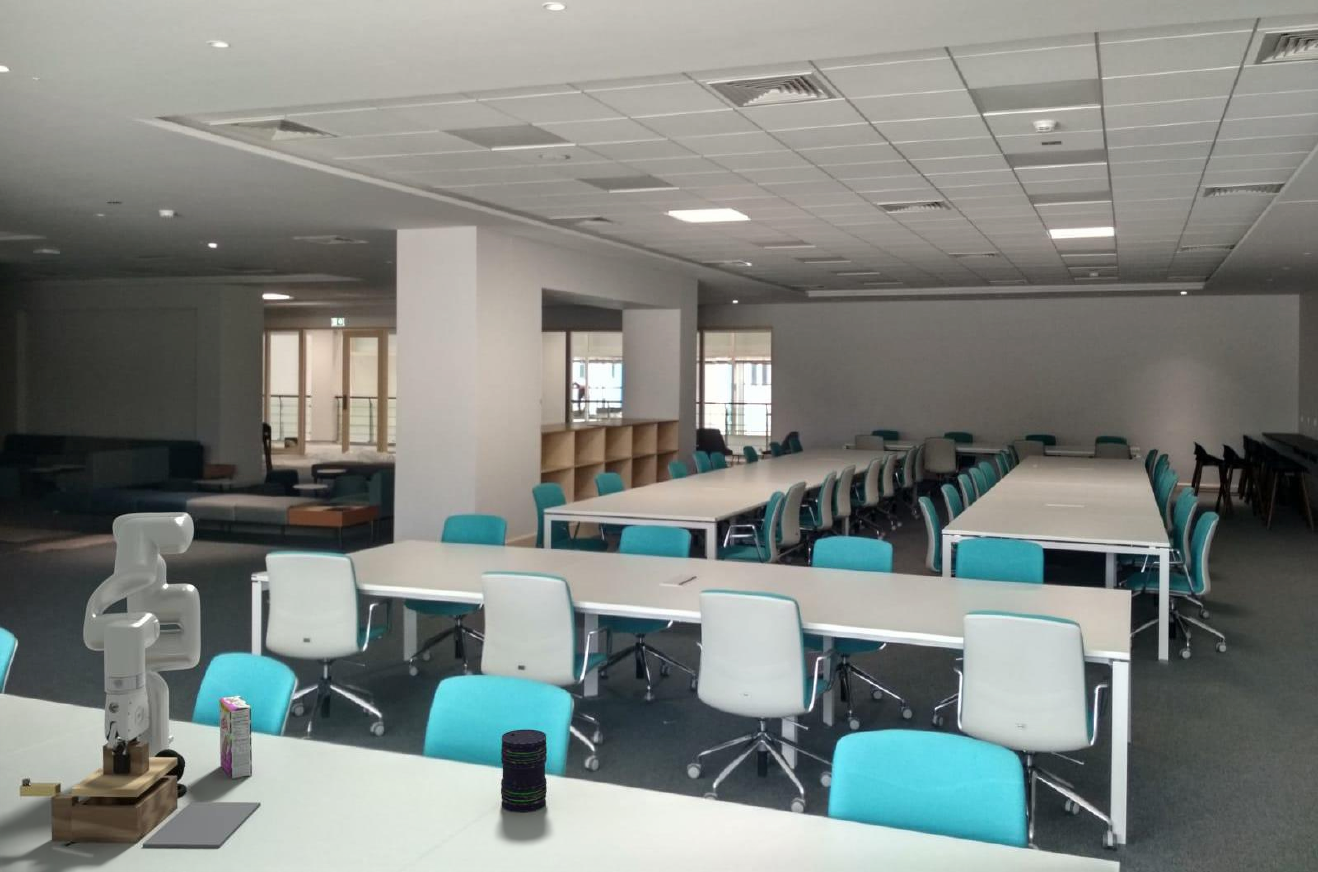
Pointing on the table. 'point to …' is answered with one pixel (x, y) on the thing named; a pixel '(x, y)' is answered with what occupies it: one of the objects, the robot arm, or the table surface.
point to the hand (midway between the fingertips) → (126, 769)
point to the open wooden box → (113, 814)
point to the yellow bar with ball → (39, 789)
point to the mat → (203, 825)
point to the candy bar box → (235, 737)
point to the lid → (125, 785)
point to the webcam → (175, 768)
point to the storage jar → (523, 771)
